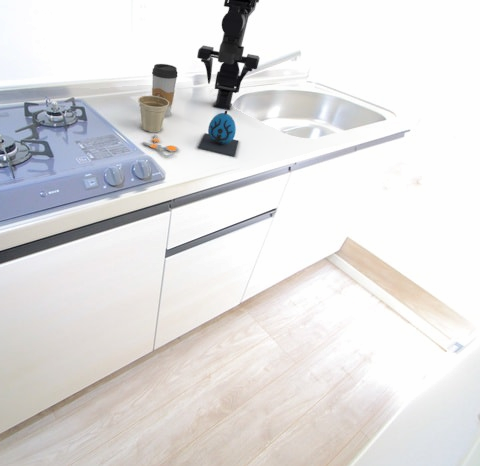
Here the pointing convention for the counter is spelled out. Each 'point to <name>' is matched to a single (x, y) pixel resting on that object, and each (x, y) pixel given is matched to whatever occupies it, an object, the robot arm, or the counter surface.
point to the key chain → (169, 148)
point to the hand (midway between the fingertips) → (222, 86)
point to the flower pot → (152, 112)
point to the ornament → (222, 128)
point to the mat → (218, 146)
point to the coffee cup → (164, 83)
